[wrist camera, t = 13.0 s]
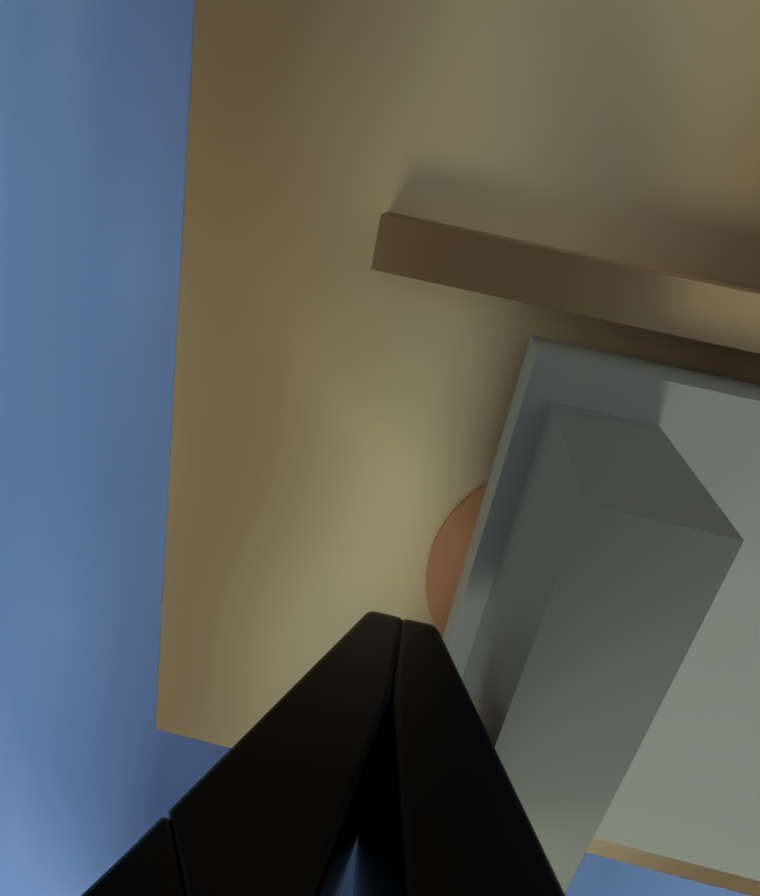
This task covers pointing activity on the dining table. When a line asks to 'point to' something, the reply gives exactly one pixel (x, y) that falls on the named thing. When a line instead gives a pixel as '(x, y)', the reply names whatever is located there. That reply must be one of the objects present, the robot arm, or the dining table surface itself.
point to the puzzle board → (423, 295)
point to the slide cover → (621, 608)
